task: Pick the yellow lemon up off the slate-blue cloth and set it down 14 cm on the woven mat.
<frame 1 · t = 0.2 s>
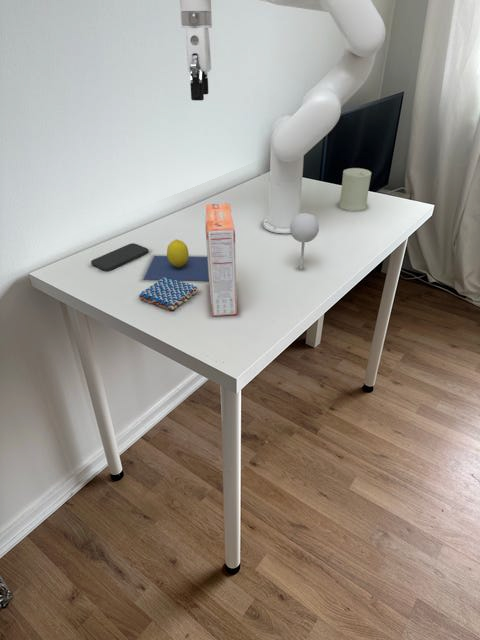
hand: (200, 97, 121), 37 cm above the table, tool pointing down, fingers open, 9 cm apart
lollipop: (301, 269, 118), on the table
lemon: (179, 268, 119), resting on cloth
phone: (120, 258, 124), on the table
cracker box: (222, 300, 106), on the table
woven mat: (169, 297, 107), on the table
can: (352, 206, 154), on the table
cloth: (182, 268, 119), on the table
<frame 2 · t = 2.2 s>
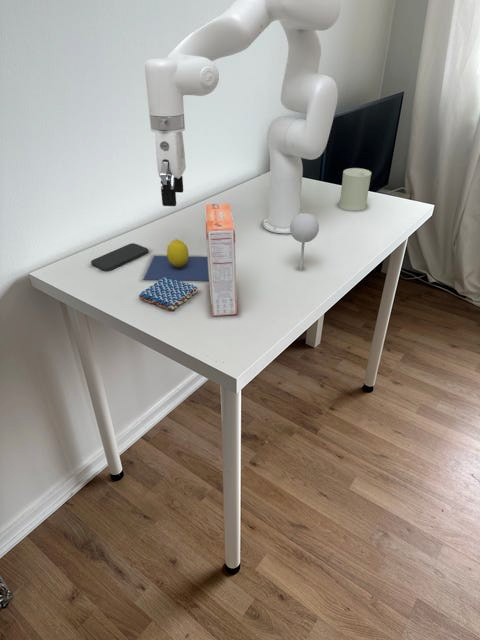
hand: (173, 198, 109), 18 cm above the table, tool pointing down, fingers open, 9 cm apart
nothing on the table moved.
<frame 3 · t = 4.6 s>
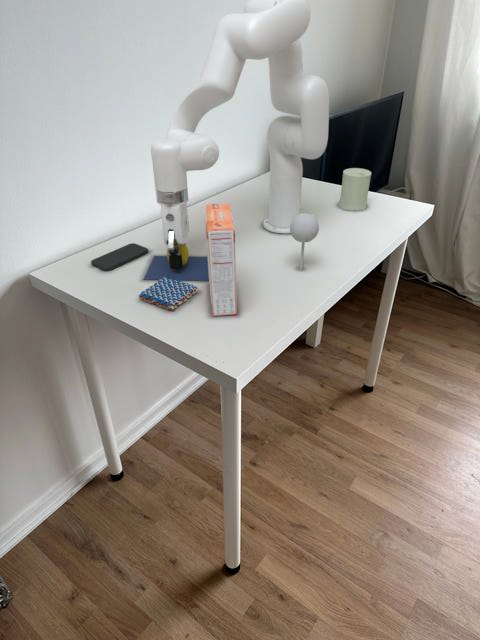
hand: (178, 262, 118), 2 cm above the table, tool pointing down, fingers closed on lemon, 5 cm apart
lemon: (179, 268, 119), resting on cloth, touching gripper
everything else where it was.
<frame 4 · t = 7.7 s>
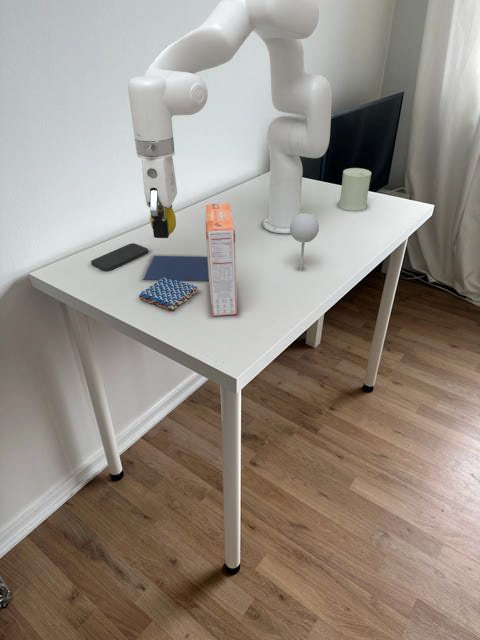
hand: (164, 230, 100), 16 cm above the table, tool pointing down, fingers closed on lemon, 5 cm apart
lemon: (165, 238, 101), point 14 cm above the table, touching gripper
everything else where it was.
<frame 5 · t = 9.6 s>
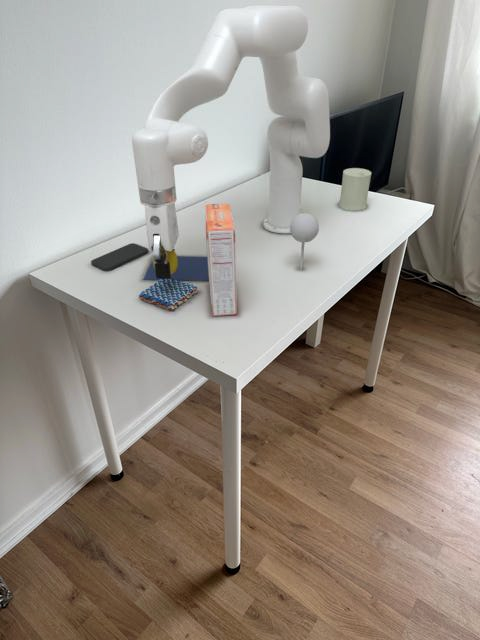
hand: (166, 270, 103), 7 cm above the table, tool pointing down, fingers closed on lemon, 5 cm apart
lemon: (167, 277, 104), point 5 cm above the table, touching gripper
everything else where it was.
when the fingers open (4 cm above the table, at t = 10.8 s): lemon stays where it is, resting on woven mat.
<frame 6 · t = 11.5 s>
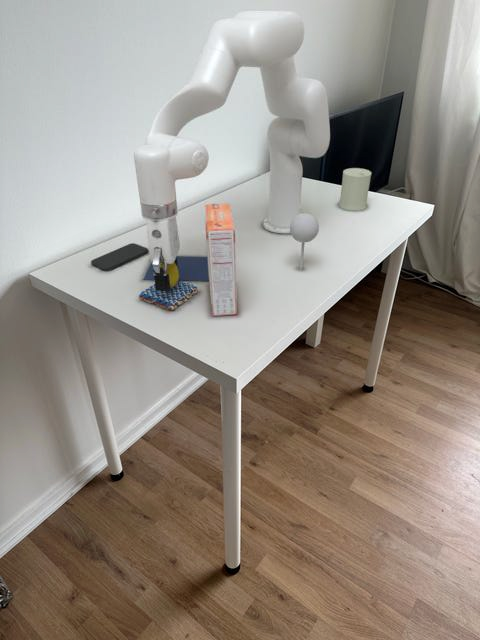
hand: (167, 278, 104), 5 cm above the table, tool pointing down, fingers open, 9 cm apart
lemon: (168, 289, 106), point 2 cm above the table, touching woven mat
woven mat: (169, 297, 107), on the table, touching lemon
everything else where it was.
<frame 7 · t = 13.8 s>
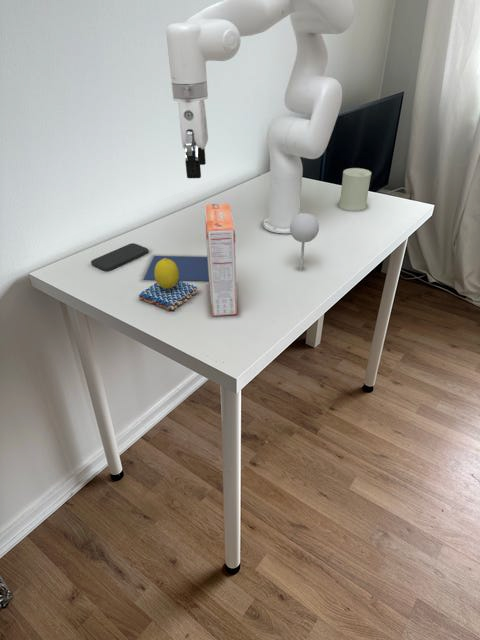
hand: (196, 170, 107), 24 cm above the table, tool pointing down, fingers open, 9 cm apart
nothing on the table moved.
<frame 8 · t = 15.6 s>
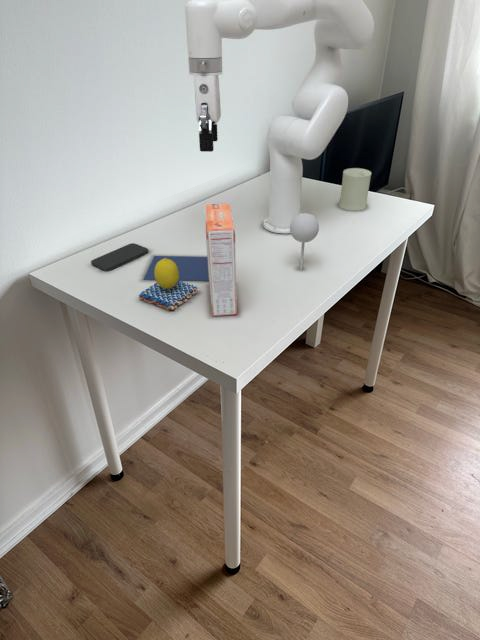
hand: (209, 145, 111), 28 cm above the table, tool pointing down, fingers open, 9 cm apart
nothing on the table moved.
at the end: lemon touching woven mat; lemon inside the target area (0.4 cm from its centre), point 1.8 cm above the table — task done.
